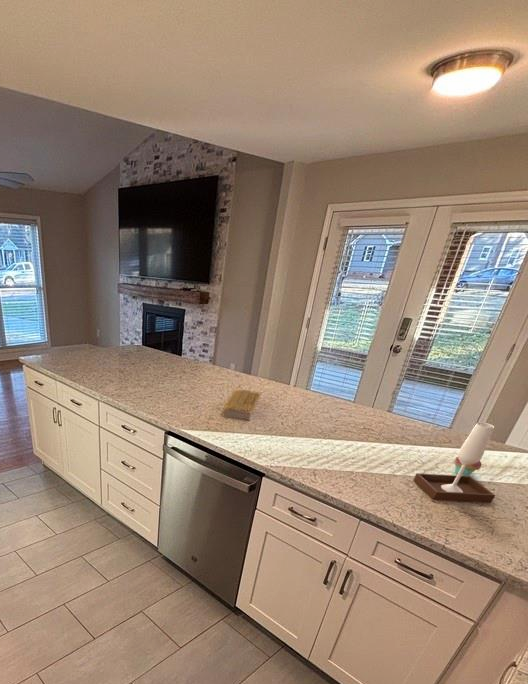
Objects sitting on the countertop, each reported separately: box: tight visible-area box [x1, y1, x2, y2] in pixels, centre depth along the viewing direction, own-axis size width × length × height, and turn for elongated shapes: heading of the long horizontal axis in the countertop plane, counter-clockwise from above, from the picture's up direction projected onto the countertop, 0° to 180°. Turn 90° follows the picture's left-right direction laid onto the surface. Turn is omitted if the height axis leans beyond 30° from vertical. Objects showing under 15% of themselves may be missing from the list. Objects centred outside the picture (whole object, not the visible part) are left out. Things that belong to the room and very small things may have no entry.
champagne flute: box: [441, 421, 495, 493], centre depth 139 cm, size 7×7×24 cm
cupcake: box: [453, 456, 482, 476], centre depth 155 cm, size 9×8×12 cm
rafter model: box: [222, 389, 262, 421], centre depth 210 cm, size 35×14×6 cm, turn 160°
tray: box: [412, 472, 496, 504], centre depth 145 cm, size 20×14×3 cm
